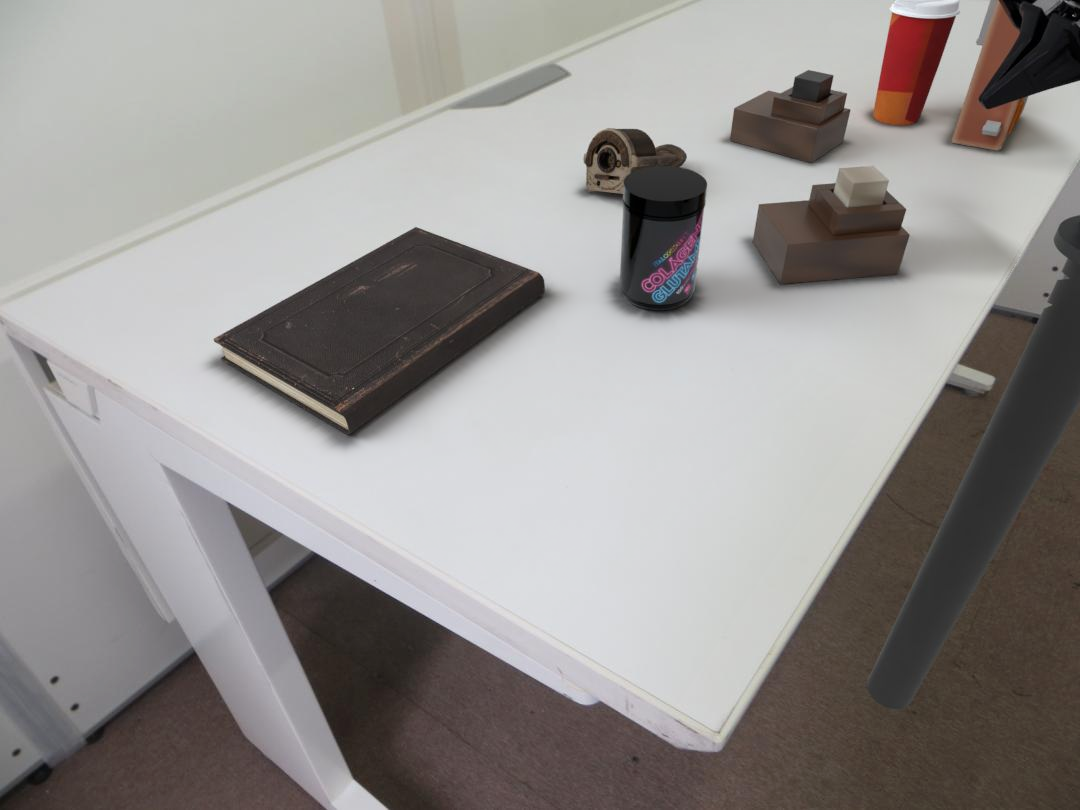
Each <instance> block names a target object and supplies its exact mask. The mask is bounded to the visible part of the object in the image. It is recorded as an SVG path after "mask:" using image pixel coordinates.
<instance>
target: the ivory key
mask: <svg viewBox="0 0 1080 810" xmlns="http://www.w3.org/2000/svg"><path fill="white" fill-rule="evenodd" d="M889 182H890V180H889V179H888V178H887V177H886V176H885V175H884V174H883V173H882V172H881V171H880V170H879V169H878V168H876V166H874V165H864V166H851V167H850V166H849V167H840V168H838V171H837V176H836V181H835V183H836V184H835V189H834V195H835V196H836V197H837V198H838V199H839V200H840V201H841V202H842V203H843V204H844V206H845V207H846V208H847V207H860V206H873V205H882V204H883V201H884V197H885V193H886V190H887V191H888V185H889Z"/></svg>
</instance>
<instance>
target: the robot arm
mask: <svg viewBox="0 0 1080 810" xmlns="http://www.w3.org/2000/svg"><path fill="white" fill-rule="evenodd" d="M999 2H1000V4H1001V5H1002V7H1003V9H1004V11H1005V12H1006V14H1007V16H1008V17H1009V19H1010V21H1011V23H1012V24H1013V26H1014V27H1015V28H1016V29H1017V30H1018V31H1019V32H1020V34H1019V36H1018V38H1017V40H1016V41H1015V43H1014V45H1013V47H1012V48H1011V50H1010V52H1009V53H1008V55H1007V56H1006V58H1005V59H1004V61H1003V62H1002V64H1001V65H1000V67H999V68H998V70H997V71H996V72H995V74H994V75H993V77H992V78H991V80H990V81H989V83H988V84H987V86H986V87H985V89H984V90H983V92H982V93H981V95H980V96H979V98H978V101H979V102H980V104H981V105H982V106H983V107H984V108H986V109H992V108H995V107H998V106H1001V105H1004V104H1007V103H1010V102H1012V101H1015V100H1018V99H1021V98H1024V97H1027V96H1028V97H1030V96H1032V95H1033V96H1034V95H1036V94H1039V93H1042V92H1046V91H1049V90H1051V89H1055V88H1059V87H1062V86H1065V85H1070V84H1073V83H1077V82H1080V0H999ZM1079 223H1080V222H1079Z"/></svg>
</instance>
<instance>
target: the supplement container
mask: <svg viewBox="0 0 1080 810" xmlns="http://www.w3.org/2000/svg"><path fill="white" fill-rule="evenodd" d="M707 190H708V182H707V179H706V178H705V177H704V176H703V175H701V174H700V173H698V172H696V171H694V170H691V169H688V168H685V167H681V166H680V167H673V166H653V167H646V168H642V169H639V170H636V171H634V172H632V173H630V174H629V175H627V176H626V178H625V179H624V186H623V194H622V221H621V222H622V223H621V241H620V243H621V245H620V247H621V248H620V249H621V250H620V268H619V269H620V270H619V289H620V292H621V295H622V296H623V297H624V299H625V300H626V301H628V303H630V304H631V305H633V306H635V307H637V308H640V309H644V310H648V311H655V312H657V311H669V310H670V311H671V310H674V309H677V308H679V307H681V306H683V305H684V304H686V303H687V302H688V301H690V299H691V298H692V296H693V295H694V293H695V290H696V280H697V273H698V264H699V254H700V247H701V239H702V229H703V221H704V213H705V207H706V202H707V201H706V200H707V199H706V198H707Z"/></svg>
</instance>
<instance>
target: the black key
mask: <svg viewBox="0 0 1080 810" xmlns="http://www.w3.org/2000/svg"><path fill="white" fill-rule="evenodd" d="M833 82H834V74H831V73H825V72H820V71H815V70H810V69H808V70H805V71H804V72H801V73H799V74H798V75H795V76H794V79H793V85H792V87H793V90H792V96H791V97H794V98H799V99H803V100H807V101H812V102H816V103H818V102H820V101H822V100H824V99H826V98H827V97H829V96H830V91H831V90H832V85H833Z"/></svg>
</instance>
